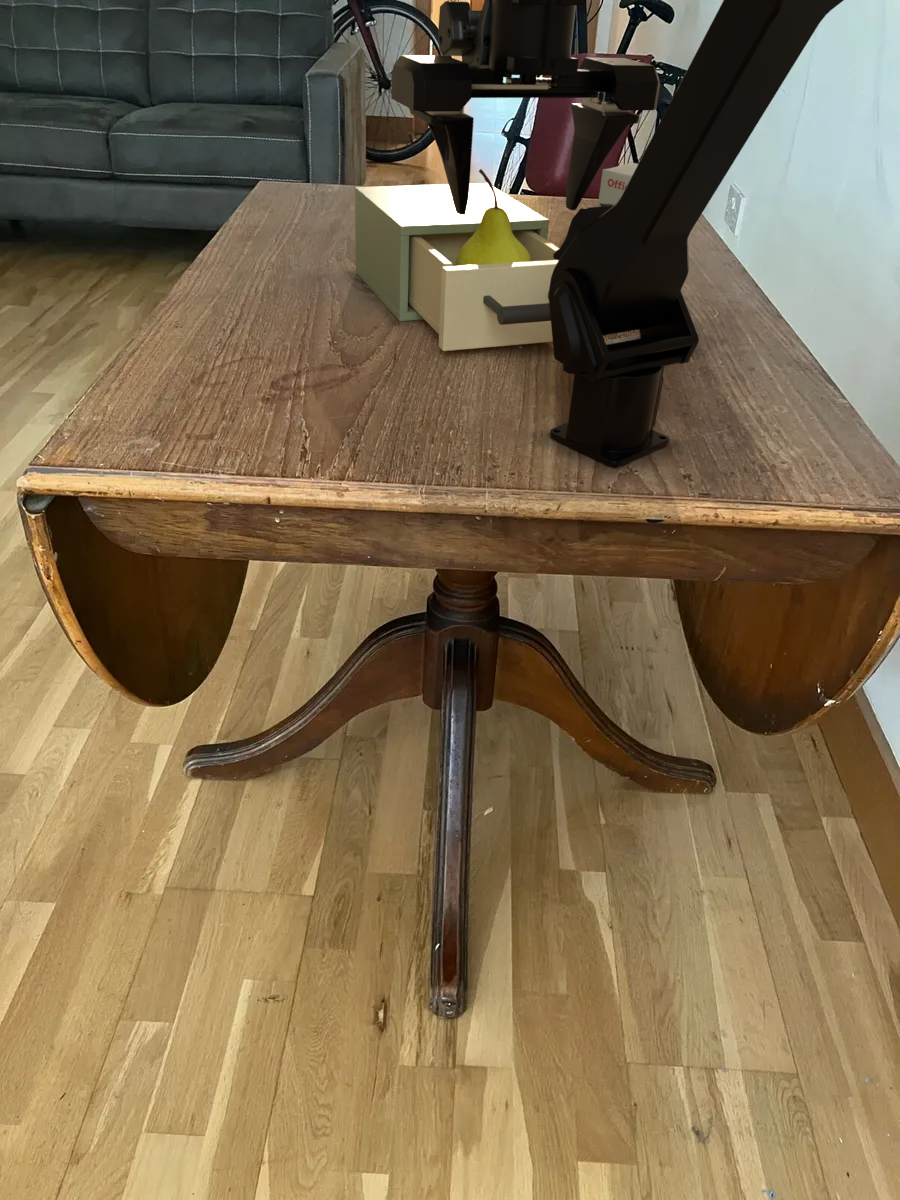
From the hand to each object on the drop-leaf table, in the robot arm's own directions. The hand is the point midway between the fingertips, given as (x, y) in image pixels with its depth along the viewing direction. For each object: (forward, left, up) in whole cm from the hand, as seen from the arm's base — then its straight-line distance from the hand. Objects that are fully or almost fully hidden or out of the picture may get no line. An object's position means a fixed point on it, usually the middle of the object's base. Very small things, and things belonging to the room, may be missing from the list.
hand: (516, 211), depth 72 cm
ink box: (+27, +8, -13) cm, 31 cm away
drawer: (+6, +7, -12) cm, 15 cm away
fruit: (+6, +8, -11) cm, 15 cm away
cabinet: (+11, +19, -13) cm, 26 cm away
